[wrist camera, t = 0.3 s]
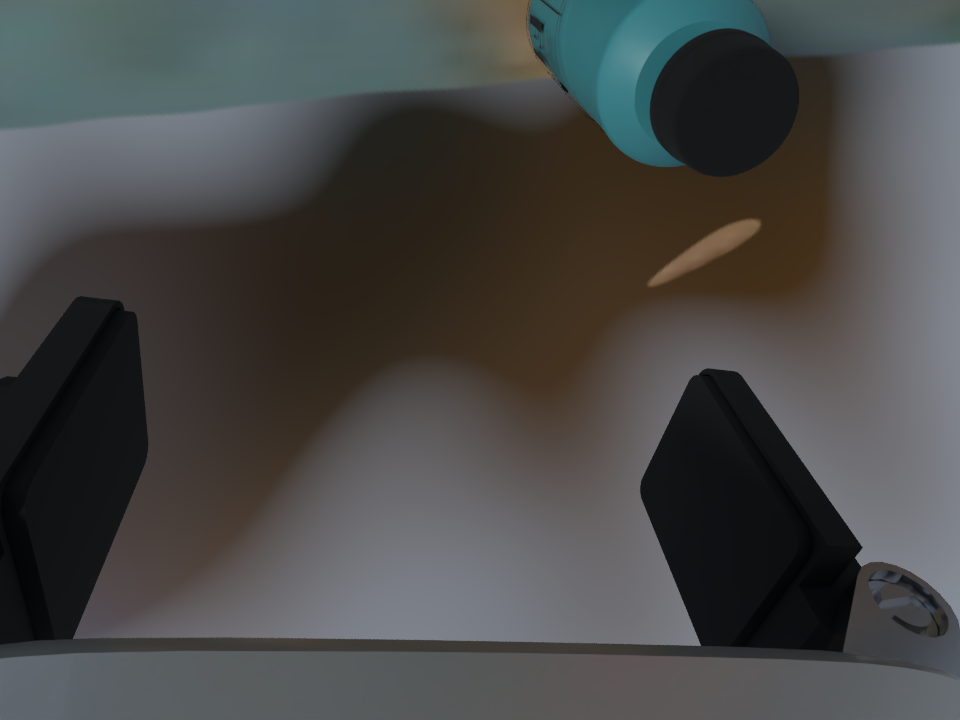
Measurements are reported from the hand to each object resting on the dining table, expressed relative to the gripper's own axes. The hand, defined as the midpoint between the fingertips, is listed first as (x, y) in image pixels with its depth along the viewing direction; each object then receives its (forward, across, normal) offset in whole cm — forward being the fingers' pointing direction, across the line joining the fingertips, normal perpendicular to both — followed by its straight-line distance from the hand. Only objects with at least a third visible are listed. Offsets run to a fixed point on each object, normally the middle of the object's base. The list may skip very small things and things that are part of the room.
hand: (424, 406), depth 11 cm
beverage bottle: (+31, -9, -4) cm, 32 cm away
